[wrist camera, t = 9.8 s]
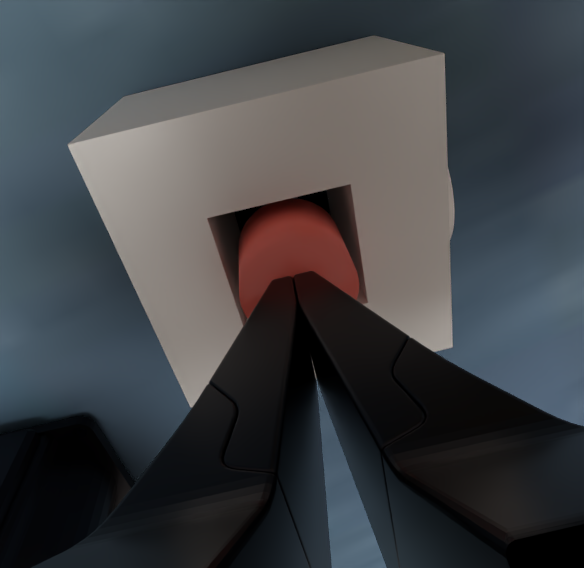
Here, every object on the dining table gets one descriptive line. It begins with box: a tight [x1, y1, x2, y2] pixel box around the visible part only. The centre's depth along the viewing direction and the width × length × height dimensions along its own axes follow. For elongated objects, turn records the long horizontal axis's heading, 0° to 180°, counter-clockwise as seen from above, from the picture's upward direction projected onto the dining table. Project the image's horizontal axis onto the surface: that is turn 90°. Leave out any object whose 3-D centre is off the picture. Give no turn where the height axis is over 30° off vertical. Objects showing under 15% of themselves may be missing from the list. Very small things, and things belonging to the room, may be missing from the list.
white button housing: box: [68, 35, 455, 407], centre depth 12 cm, size 7×7×5 cm
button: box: [239, 198, 359, 318], centre depth 10 cm, size 2×2×2 cm
